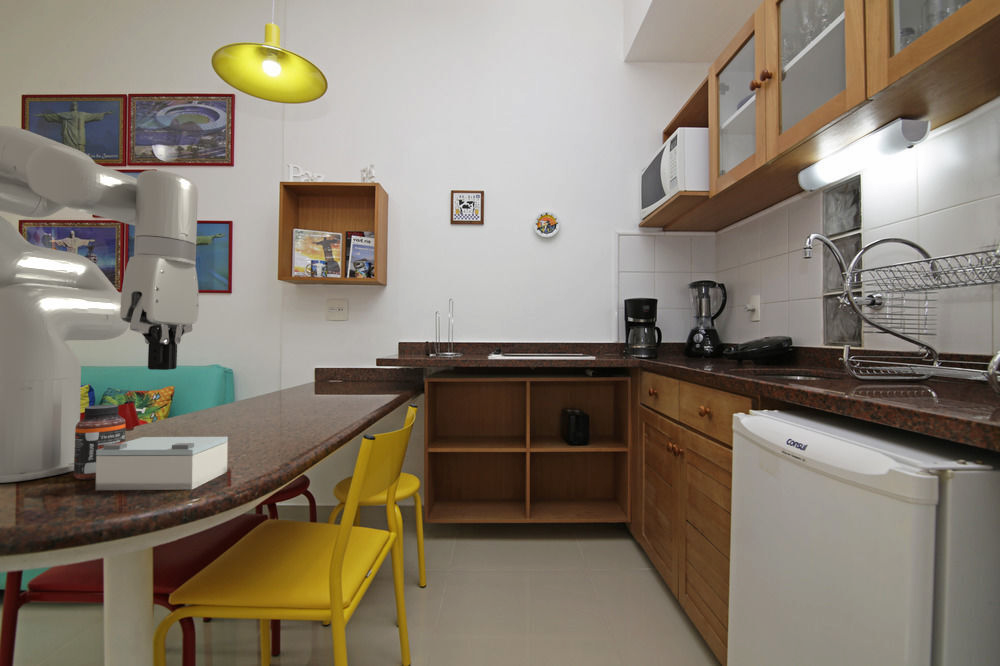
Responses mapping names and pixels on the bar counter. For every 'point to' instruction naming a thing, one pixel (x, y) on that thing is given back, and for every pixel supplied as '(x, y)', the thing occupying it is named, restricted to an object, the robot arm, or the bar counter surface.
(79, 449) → the supplement bottle
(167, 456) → the white hinged box
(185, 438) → the cover
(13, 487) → the bar counter surface
